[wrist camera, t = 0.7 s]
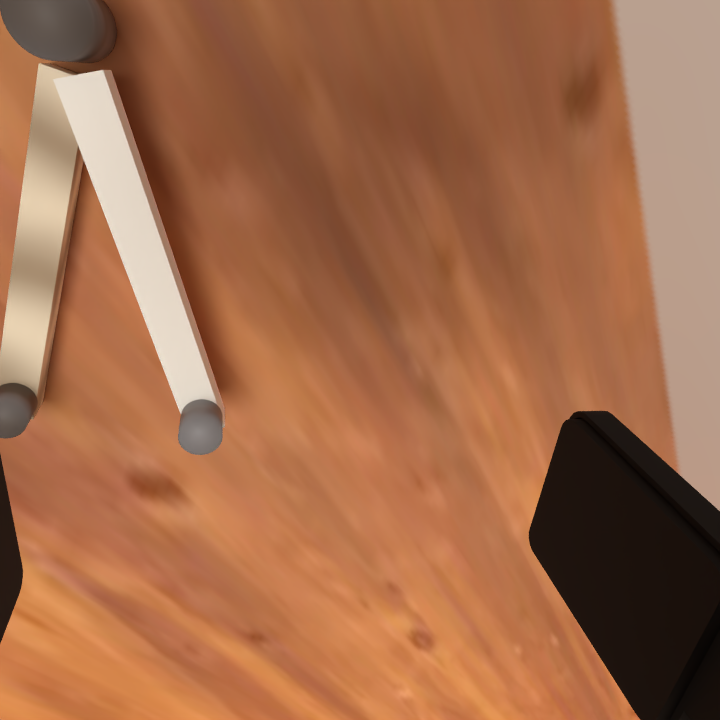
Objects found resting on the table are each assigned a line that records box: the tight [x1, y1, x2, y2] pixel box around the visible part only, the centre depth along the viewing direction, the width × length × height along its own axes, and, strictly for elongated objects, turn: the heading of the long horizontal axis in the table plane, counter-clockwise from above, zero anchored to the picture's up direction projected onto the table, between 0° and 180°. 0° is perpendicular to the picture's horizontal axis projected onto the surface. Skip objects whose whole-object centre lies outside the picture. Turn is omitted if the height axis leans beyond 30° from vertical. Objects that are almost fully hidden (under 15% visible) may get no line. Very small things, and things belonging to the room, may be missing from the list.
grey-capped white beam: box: [0, 0, 117, 438], centre depth 27 cm, size 22×3×6 cm, turn 160°
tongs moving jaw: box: [53, 70, 225, 455], centre depth 28 cm, size 18×2×4 cm, turn 10°
